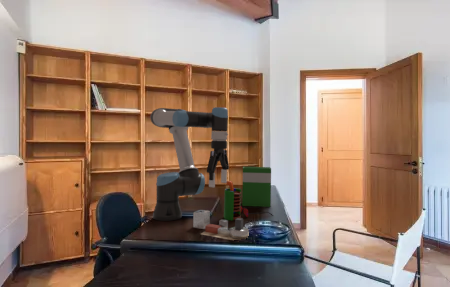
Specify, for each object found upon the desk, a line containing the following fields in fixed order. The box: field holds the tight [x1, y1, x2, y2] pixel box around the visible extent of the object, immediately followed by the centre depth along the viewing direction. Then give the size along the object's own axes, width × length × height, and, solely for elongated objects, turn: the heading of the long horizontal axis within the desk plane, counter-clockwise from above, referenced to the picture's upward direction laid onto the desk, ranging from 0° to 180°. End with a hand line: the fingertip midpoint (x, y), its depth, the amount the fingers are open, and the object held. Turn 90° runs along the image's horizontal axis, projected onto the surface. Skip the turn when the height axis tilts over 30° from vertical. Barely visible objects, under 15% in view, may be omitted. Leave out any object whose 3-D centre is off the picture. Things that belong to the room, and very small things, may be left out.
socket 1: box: [192, 209, 211, 230], centre depth 138 cm, size 6×6×8 cm
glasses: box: [240, 205, 274, 218], centre depth 167 cm, size 14×16×5 cm
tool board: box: [200, 231, 238, 241], centre depth 128 cm, size 24×13×1 cm, turn 63°
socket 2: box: [218, 219, 229, 228], centre depth 134 cm, size 4×4×4 cm
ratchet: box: [204, 217, 250, 240], centre depth 128 cm, size 20×8×7 cm, turn 63°
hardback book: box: [241, 166, 272, 208], centre depth 189 cm, size 18×7×24 cm, turn 85°
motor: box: [223, 180, 242, 221], centre depth 154 cm, size 10×9×20 cm
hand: (218, 184), depth 141 cm, fingers open, 13 cm apart
